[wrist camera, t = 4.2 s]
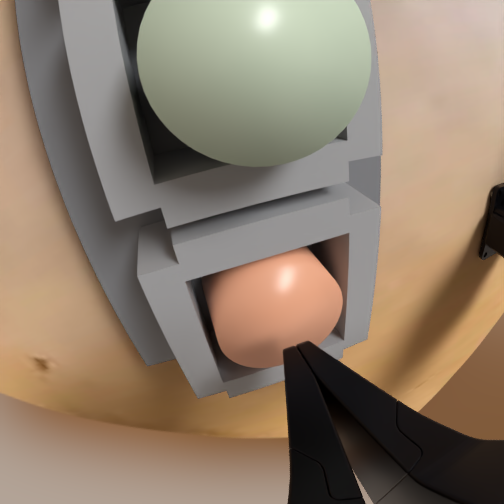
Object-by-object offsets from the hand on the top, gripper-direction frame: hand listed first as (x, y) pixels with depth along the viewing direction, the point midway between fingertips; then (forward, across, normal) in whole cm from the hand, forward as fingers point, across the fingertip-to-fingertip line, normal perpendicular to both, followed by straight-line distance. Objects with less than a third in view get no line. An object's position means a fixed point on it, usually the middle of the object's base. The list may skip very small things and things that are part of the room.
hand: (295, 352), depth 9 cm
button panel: (+7, 0, -8) cm, 10 cm away
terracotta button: (+4, 0, 0) cm, 4 cm away
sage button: (+3, 0, -8) cm, 8 cm away
